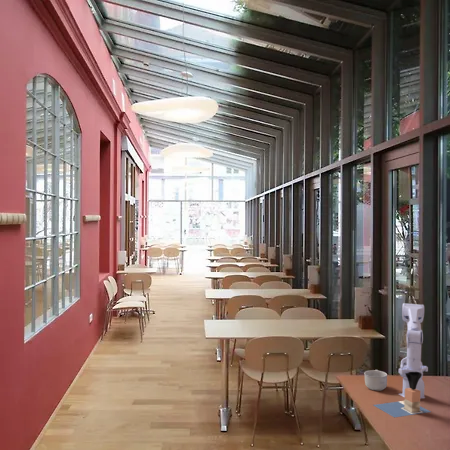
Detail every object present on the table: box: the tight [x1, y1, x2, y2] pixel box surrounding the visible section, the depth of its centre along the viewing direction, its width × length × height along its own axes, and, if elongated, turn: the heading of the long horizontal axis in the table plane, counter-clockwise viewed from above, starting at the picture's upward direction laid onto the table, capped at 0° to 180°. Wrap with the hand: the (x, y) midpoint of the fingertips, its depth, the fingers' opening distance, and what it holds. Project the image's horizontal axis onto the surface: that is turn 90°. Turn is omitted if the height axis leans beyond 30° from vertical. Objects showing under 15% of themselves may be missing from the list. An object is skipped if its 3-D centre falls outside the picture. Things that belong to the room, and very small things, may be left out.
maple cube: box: [403, 398, 421, 413], centre depth 211 cm, size 4×4×4 cm
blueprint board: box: [373, 400, 432, 418], centre depth 213 cm, size 20×14×1 cm
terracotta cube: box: [404, 388, 421, 402], centre depth 211 cm, size 4×4×4 cm
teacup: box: [363, 369, 388, 392], centre depth 240 cm, size 14×11×8 cm
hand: (412, 388), depth 211 cm, fingers closed
